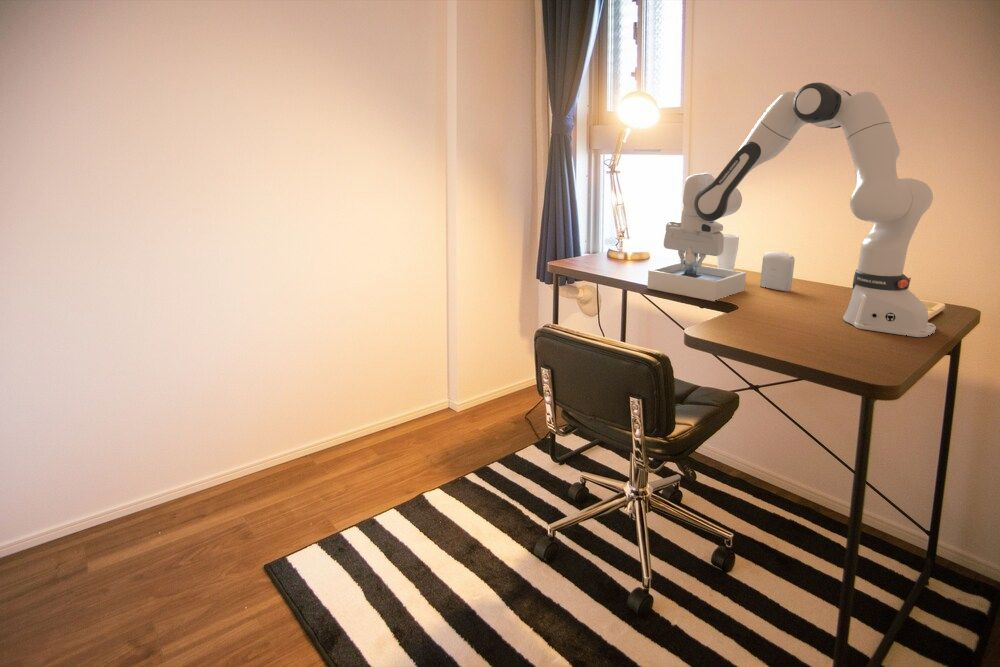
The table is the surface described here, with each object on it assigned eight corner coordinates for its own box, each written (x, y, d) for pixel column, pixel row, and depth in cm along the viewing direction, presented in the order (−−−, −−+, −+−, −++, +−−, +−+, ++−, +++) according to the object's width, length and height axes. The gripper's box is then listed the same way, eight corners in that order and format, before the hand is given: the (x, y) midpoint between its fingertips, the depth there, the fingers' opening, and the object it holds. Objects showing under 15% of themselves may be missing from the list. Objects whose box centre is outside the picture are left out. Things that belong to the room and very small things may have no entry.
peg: (698, 276, 238) (701, 246, 235) (692, 278, 235) (695, 247, 232) (687, 274, 240) (690, 244, 237) (681, 276, 237) (684, 246, 234)
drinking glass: (710, 277, 251) (714, 234, 247) (725, 275, 254) (729, 233, 249) (723, 281, 245) (728, 237, 241) (738, 279, 248) (743, 236, 243)
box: (744, 290, 233) (746, 272, 231) (714, 301, 219) (716, 282, 217) (678, 278, 248) (680, 261, 247) (647, 288, 235) (648, 270, 233)
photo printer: (757, 286, 238) (761, 250, 234) (764, 284, 241) (768, 248, 237) (786, 292, 230) (791, 254, 227) (793, 290, 233) (798, 253, 229)
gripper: (661, 221, 237) (658, 262, 241) (718, 228, 223) (714, 271, 228) (671, 219, 241) (668, 259, 245) (728, 226, 228) (723, 268, 232)
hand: (690, 265), depth 236 cm, fingers closed on peg, 4 cm apart
